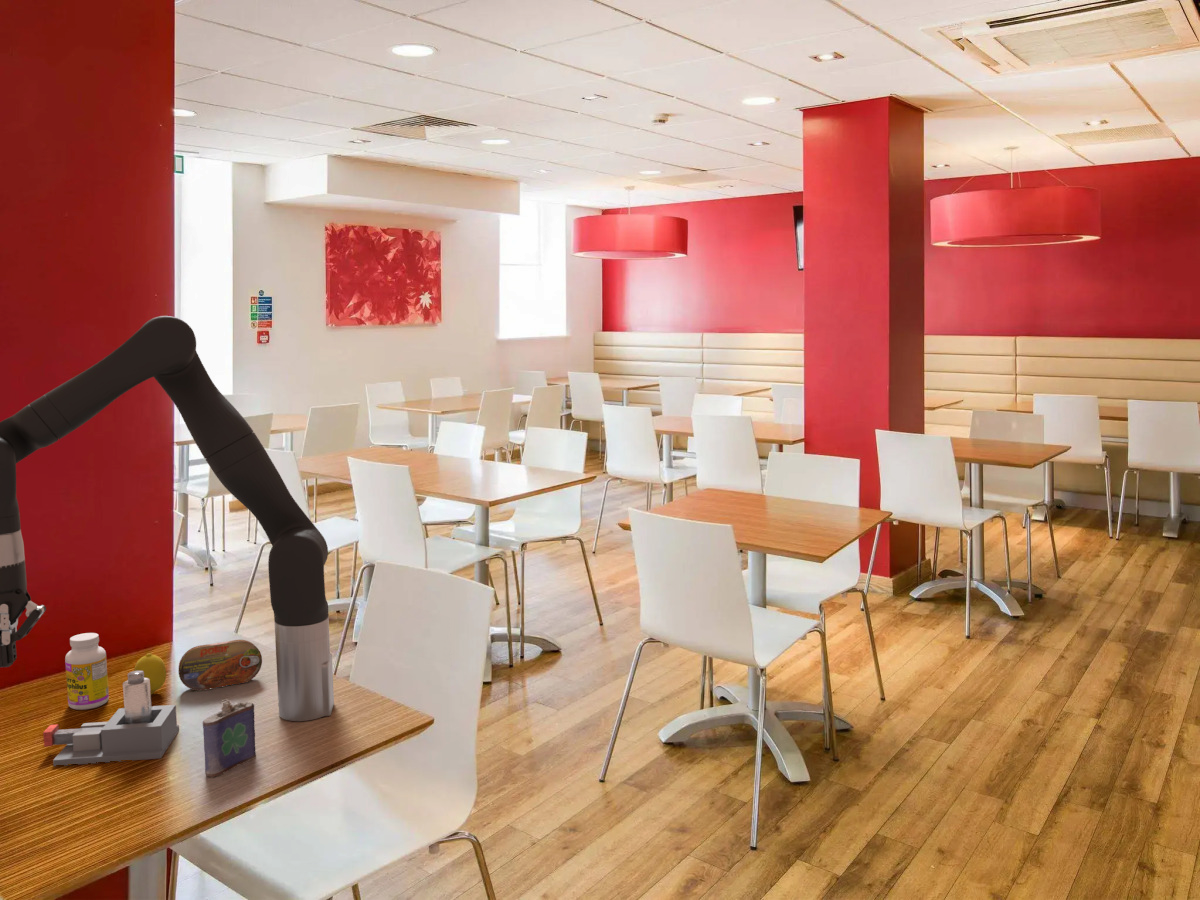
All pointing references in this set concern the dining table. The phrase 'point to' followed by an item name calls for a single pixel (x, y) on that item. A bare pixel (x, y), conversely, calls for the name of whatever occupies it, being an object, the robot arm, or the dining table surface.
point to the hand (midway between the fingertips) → (5, 665)
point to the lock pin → (63, 735)
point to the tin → (219, 664)
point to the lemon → (152, 670)
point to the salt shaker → (137, 699)
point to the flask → (229, 738)
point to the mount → (122, 739)
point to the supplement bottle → (86, 672)
